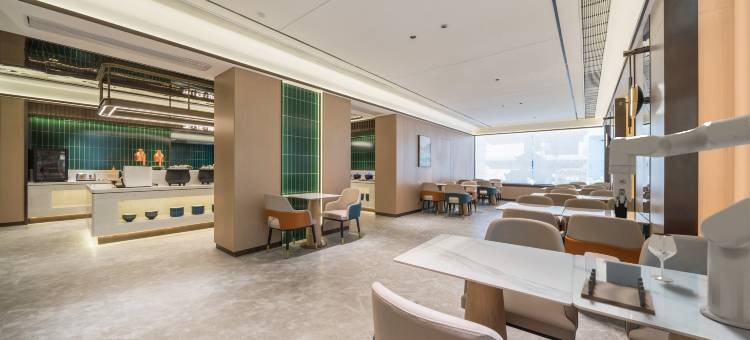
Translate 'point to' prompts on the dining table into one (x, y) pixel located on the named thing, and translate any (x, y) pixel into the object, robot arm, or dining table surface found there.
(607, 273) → the pale blue upright panel
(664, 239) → the wineglass
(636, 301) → the rack
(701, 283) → the dining table surface
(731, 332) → the dining table surface
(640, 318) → the dining table surface
